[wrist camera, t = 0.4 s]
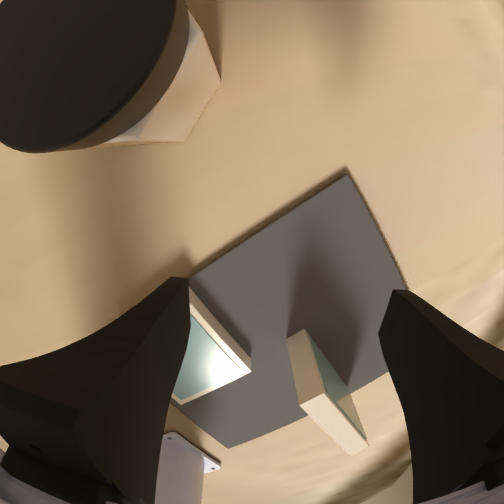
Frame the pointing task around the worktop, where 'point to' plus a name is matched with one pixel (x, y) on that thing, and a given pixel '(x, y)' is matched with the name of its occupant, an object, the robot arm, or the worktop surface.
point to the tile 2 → (325, 394)
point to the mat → (296, 309)
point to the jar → (100, 73)
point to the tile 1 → (208, 356)
